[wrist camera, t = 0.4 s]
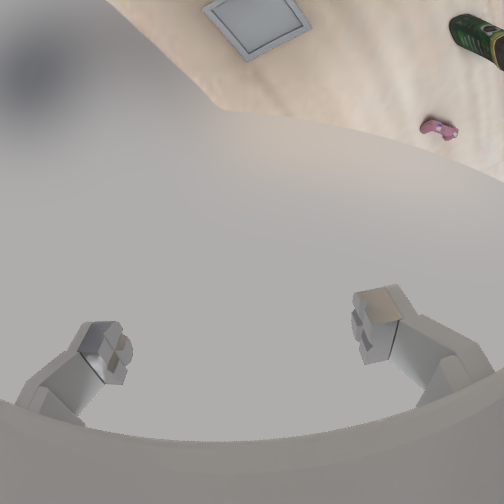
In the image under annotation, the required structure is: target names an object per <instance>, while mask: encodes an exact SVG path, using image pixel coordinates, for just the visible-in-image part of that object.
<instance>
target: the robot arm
mask: <svg viewBox="0 0 504 504" xmlns="http://www.w3.org/2000/svg"><path fill="white" fill-rule="evenodd" d="M353 304H354V307H355V309H354V311H353V312H352V320H351V321H352V329H353V333H354V336H355V339H356V340H357V341H358V342H360V347H359V350H360V353H361V356H362V359H363V361H364V364H365V365H367V364H371V363H376V362H380V361H385V360H389V362H391V363H392V364H393V365H394V366H396V367H397V368H398V369H399V370H401V371H402V372H403V373H404V374H406V375H407V376H408V377H409V378H410V379H412V380H413V381H414V382H415V383H417V384H418V385H419V386H420V387H421V388H423V389H424V390H425V391H424V393H423V395H422V397H421V398H420V400H419V402H418V403H417V405H416V407H417V408H415V409H412V410H409V411H406V412H403V413H400V414H396V415H393V416H390V417H387V418H383V419H380V420H376V421H372V422H369V423H365V424H361V425H356V426H353V427H348V428H343V429H338V430H333V431H328V432H323V433H317V434H310V435H304V436H296V437H289V438H279V439H269V440H257V441H238V442H237V441H236V442H235V441H234V442H199V441H198V442H197V441H177V440H164V439H154V438H144V437H137V436H130V435H124V434H118V433H111V432H107V431H102V430H96V429H92V428H87V427H85V423H84V422H83V421H82V420H81V419H80V418H78V417H77V416H78V415H79V414H80V413H81V412H82V410H83V409H84V408H85V407H86V406H87V405H88V404H89V403H90V401H91V400H92V399H93V398H94V397H95V396H96V394H98V392H99V391H100V390H101V389H102V388H103V387H104V386H105V384H116V385H123V382H124V379H125V376H126V374H127V369H126V365H128V364H129V363H130V362H131V359H132V356H133V348H132V344H131V342H130V340H129V338H128V337H127V336H125V335H123V334H122V332H123V328H122V327H121V325H120V324H119V323H118V322H116V321H105V322H104V321H103V322H85V323H83V324H82V325H81V327H80V329H79V330H78V332H77V334H76V336H75V337H74V339H73V341H72V343H71V344H70V346H69V348H68V350H67V351H64V352H62V353H61V354H60V355H59V356H57V357H56V358H55V359H54V360H52V361H51V362H50V363H48V364H47V365H46V366H45V367H44V368H42V369H41V370H40V371H38V372H37V373H36V374H35V375H34V376H32V377H31V378H30V379H29V380H27V381H26V383H25V385H24V387H23V389H22V391H21V393H20V395H19V397H18V399H17V401H16V403H15V405H14V404H11V403H9V402H6V401H4V400H2V399H0V504H504V368H502V369H501V370H499V371H497V372H495V371H494V369H493V368H492V366H491V364H490V362H489V361H488V359H487V357H486V356H485V354H484V353H483V351H482V350H481V348H480V346H479V345H478V343H476V342H474V341H472V340H470V339H469V338H467V337H465V336H463V335H461V334H459V333H457V332H455V331H453V330H451V329H450V328H447V327H446V326H444V325H442V324H440V323H438V322H436V321H434V320H432V319H430V318H428V317H426V316H424V315H423V314H422V315H418V314H417V312H416V311H415V309H414V308H413V306H412V304H411V303H410V301H409V300H408V298H407V297H406V295H405V294H404V292H403V291H402V289H401V288H400V286H399V285H398V284H393V285H388V286H384V287H381V288H376V289H371V290H366V291H361V292H356V293H354V295H353Z"/></svg>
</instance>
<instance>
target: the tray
mask: <svg viewBox="0 0 504 504" xmlns="http://www.w3.org/2000/svg"><path fill="white" fill-rule="evenodd" d="M201 10H202V11H203V12H204V13H205V14H206V16H207V17H208V18H209V19H210V20H211V21H212V22H213V23H214V24H215V25H216V26H217V28H218V29H219V30H220V31H221V32H222V33H223V34H224V36H225V37H226V38H227V39H228V40H229V41H230V42H231V44H232V45H233V46H234V47H235V48H236V50H237V51H238V52H239V53H240V54H241V56H242V57H243V58H244V59H245V61H246V62H249V61H251V60H252V59H254V58H256V57H258V56H259V55H261V54H263V53H265V52H267V51H268V50H270V49H272V48H274V47H276V46H278V45H280V44H282V43H284V42H286V41H288V40H290V39H292V38H294V37H296V36H298V35H300V34H302V33H304V32H306V31H309V30H311V29H313V28H312V27H311V25H310V24H309V22H308V21H307V19H306V18H305V16H304V15H303V13H302V12H301V10H300V9H299V8H298V6H297V5H296V3H295V2H294V1H293V0H215V1H213V2H212V3H210V4H209V5H207V6H206V7H204V8H203V9H201Z"/></svg>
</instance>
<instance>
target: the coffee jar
mask: <svg viewBox="0 0 504 504" xmlns="http://www.w3.org/2000/svg"><path fill="white" fill-rule="evenodd" d="M450 29H451V33H452V36H453V38H454V40H455V41H456V43H457V44H458V45H459V46H461V47H463V48H465V49H467V50H470V51H472V52H474V53H476V54H478V55H480V56H482V57H484V58H486V59H488V60H490V61H491V62H493V63H494V64H495V65H496V66H497V67H498V68H499V69H500V70H502V71H504V30H503V29H500V28H498V27H496V26H494V25H492V24H490V23H488V22H486V21H484V20H482V19H480V18H477V17H475V16H473V15H470V14H466V15H461V16H458V17H456V18H454V19H453V20H452V21H451V23H450Z"/></svg>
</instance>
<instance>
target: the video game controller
mask: <svg viewBox="0 0 504 504" xmlns="http://www.w3.org/2000/svg"><path fill="white" fill-rule="evenodd" d="M451 125H452V126H446V125H443V123H441V122H439V121H436V120H429V121H427V122H425V123H424V124H423V125H422V126H421V128H420V131H421V133H423V134H425V133H428V132H430V131H435V132H437V133H440V134H442V135H444V136H443V138H444V140H446V141H448V140H451V139H452V138H456V137H457V135H458V129H457V128H455V127H454V126H455V125H453V124H451Z"/></svg>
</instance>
